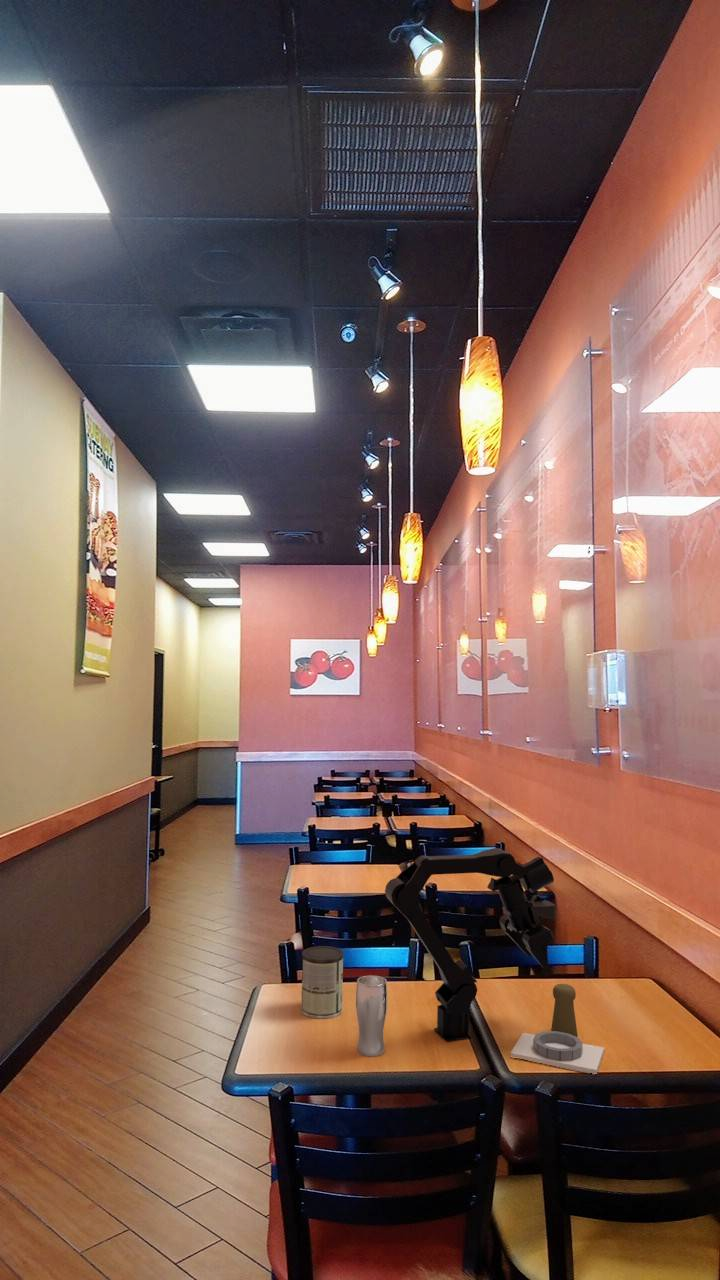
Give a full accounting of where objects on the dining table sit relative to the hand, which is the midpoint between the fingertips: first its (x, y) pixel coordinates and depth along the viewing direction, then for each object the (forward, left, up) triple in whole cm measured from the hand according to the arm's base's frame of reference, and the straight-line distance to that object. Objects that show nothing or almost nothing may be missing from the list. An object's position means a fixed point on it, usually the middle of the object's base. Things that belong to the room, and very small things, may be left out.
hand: (538, 961), depth 192 cm
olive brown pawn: (+4, -5, -16) cm, 17 cm away
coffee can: (-45, +26, -16) cm, 54 cm away
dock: (-4, -14, -15) cm, 21 cm away
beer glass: (-42, +1, -16) cm, 45 cm away
